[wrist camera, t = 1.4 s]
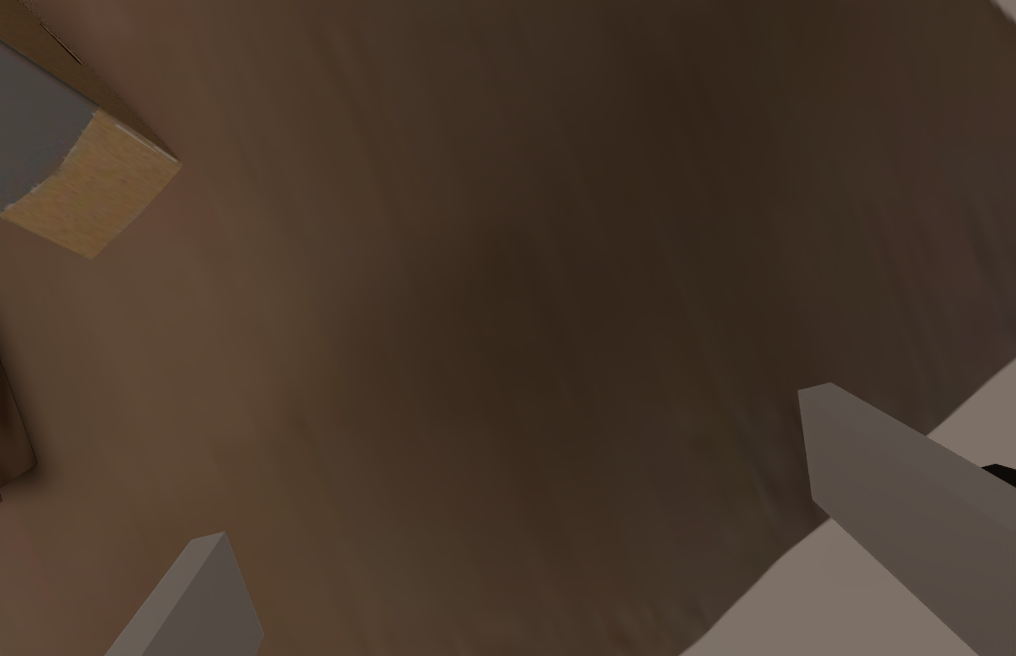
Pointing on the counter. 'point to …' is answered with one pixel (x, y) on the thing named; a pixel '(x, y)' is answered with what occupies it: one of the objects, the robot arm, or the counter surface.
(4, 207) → the sandwich container
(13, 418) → the walnut stand
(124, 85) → the counter surface
